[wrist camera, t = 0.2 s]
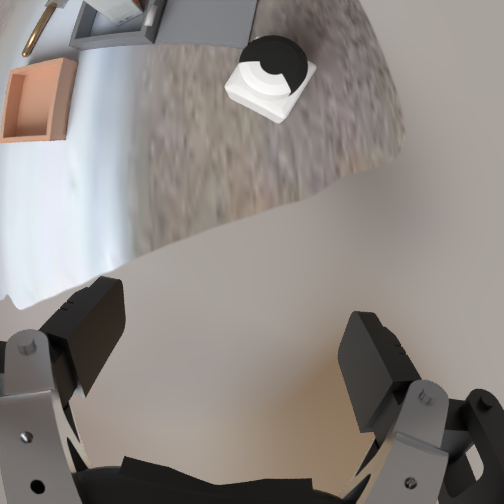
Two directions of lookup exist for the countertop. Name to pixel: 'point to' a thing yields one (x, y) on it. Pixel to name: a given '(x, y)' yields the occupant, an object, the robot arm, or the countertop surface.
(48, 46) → the countertop surface
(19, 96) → the bin
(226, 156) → the countertop surface
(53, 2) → the hand shovel
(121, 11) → the skincare box
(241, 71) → the medicine bottle
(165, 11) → the bin
